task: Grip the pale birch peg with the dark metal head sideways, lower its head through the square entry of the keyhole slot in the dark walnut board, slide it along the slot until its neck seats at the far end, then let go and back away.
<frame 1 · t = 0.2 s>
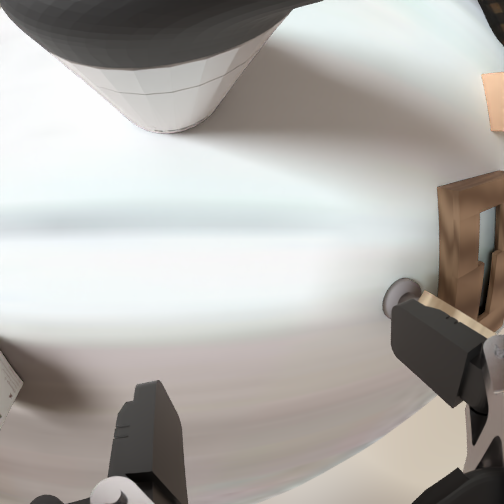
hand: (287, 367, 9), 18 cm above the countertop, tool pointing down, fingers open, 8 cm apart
birch peg: (399, 298, 33), on the countertop
soap dispenser: (500, 117, 30), on the countertop
walnut keyhole board: (472, 266, 35), on the countertop
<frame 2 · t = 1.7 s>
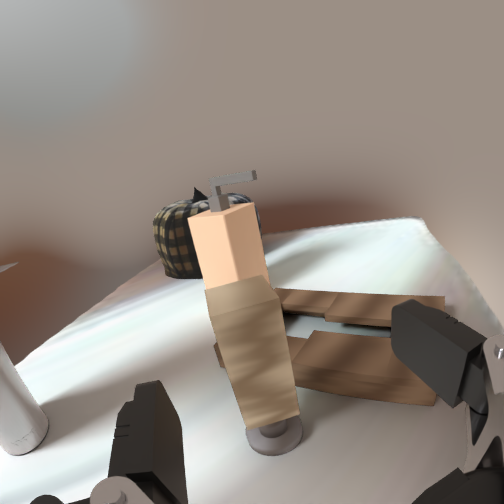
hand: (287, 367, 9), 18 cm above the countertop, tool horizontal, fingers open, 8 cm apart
decorative pumpkin: (213, 259, 82), on the countertop
birch peg: (275, 434, 25), on the countertop
soap dispenser: (249, 295, 56), on the countertop
walnut keyhole board: (339, 346, 36), on the countertop
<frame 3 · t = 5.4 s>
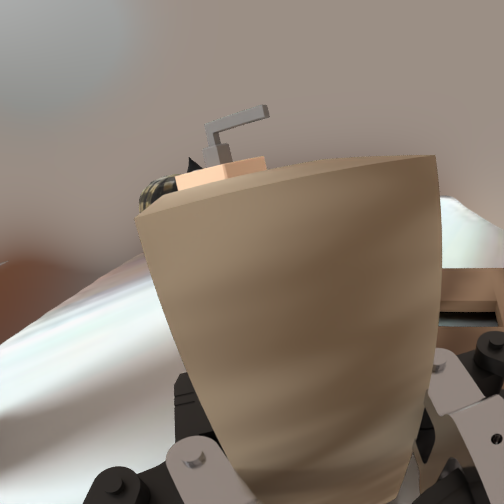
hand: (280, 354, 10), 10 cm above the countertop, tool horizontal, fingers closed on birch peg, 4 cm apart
decorative pumpkin: (211, 245, 68), on the countertop
soap dispenser: (258, 283, 42), on the countertop
walnut keyhole board: (406, 348, 21), on the countertop
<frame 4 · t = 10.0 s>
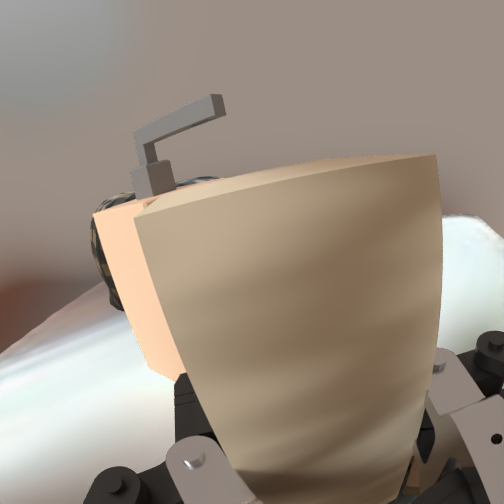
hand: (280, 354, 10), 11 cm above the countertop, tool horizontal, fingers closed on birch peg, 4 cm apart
decorative pumpkin: (180, 278, 54), on the countertop
soap dispenser: (221, 363, 28), on the countertop
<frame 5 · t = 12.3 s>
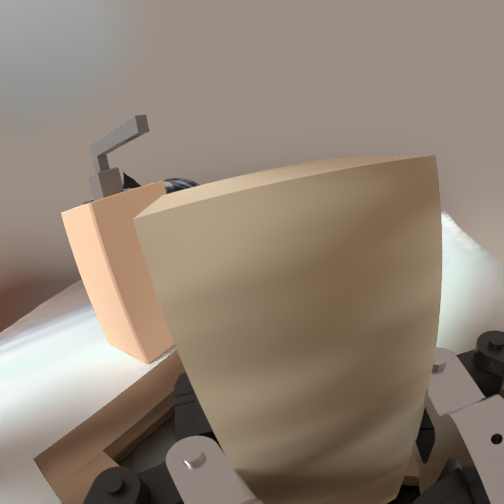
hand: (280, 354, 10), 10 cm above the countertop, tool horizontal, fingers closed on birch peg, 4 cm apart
decorative pumpkin: (152, 271, 58), on the countertop
soap dispenser: (165, 340, 32), on the countertop
when the fingers open (10 cm above the countertop, at t = 14.5 s): birch peg stays where it is, resting in walnut keyhole board.
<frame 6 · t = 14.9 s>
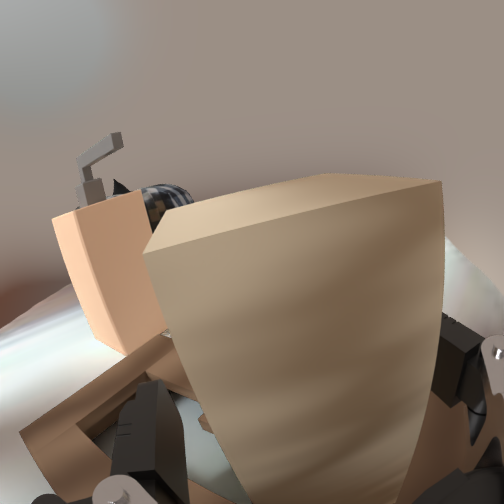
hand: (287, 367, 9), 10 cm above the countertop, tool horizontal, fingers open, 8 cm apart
decorative pumpkin: (142, 272, 60), on the countertop
soap dispenser: (145, 335, 34), on the countertop
walnut keyhole board: (228, 485, 14), on the countertop
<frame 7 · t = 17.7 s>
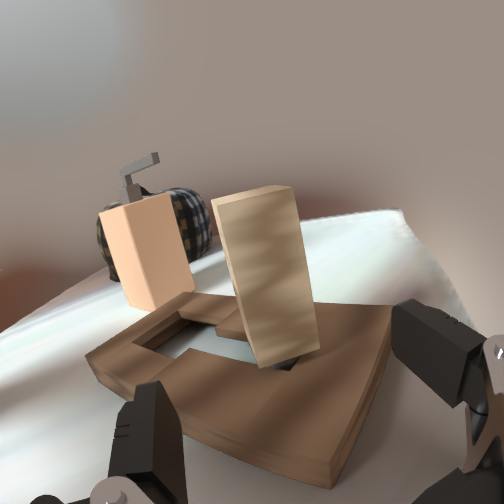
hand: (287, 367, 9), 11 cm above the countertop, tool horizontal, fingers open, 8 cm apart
decorative pumpkin: (160, 261, 74), on the countertop
birch peg: (290, 386, 23), resting in walnut keyhole board
soap dispenser: (170, 300, 47), on the countertop
walnut keyhole board: (232, 372, 27), on the countertop
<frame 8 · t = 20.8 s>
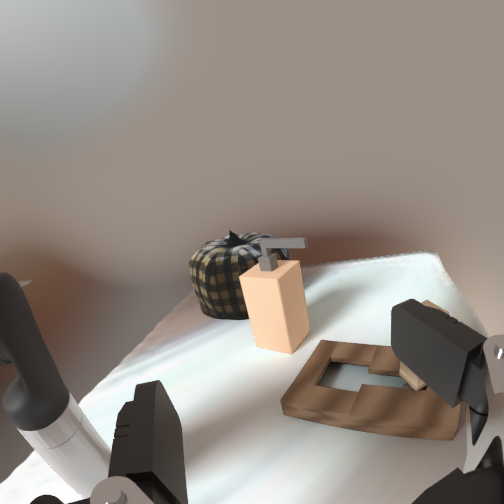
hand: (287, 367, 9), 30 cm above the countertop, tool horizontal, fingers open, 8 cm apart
decorative pumpkin: (246, 296, 87), on the countertop
birch peg: (415, 396, 37), resting in walnut keyhole board
soap dispenser: (292, 341, 61), on the countertop
walnut keyhole board: (379, 393, 41), on the countertop
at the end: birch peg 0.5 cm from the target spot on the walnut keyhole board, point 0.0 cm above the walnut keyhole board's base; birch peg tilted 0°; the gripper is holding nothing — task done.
